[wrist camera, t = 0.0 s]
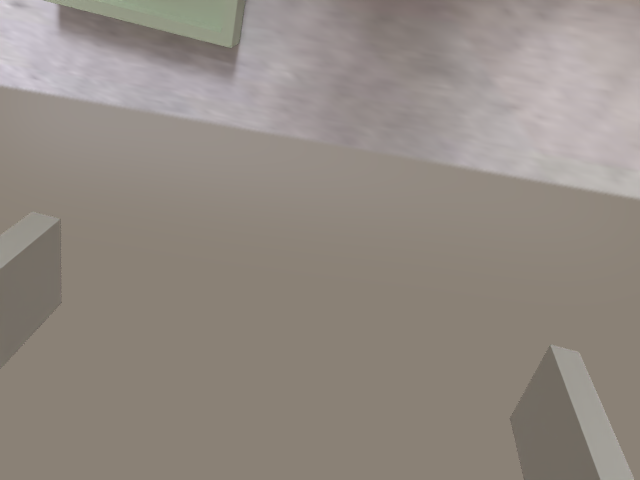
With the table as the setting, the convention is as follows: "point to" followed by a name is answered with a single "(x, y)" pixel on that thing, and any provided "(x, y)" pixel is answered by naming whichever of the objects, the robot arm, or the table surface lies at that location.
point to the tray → (175, 16)
